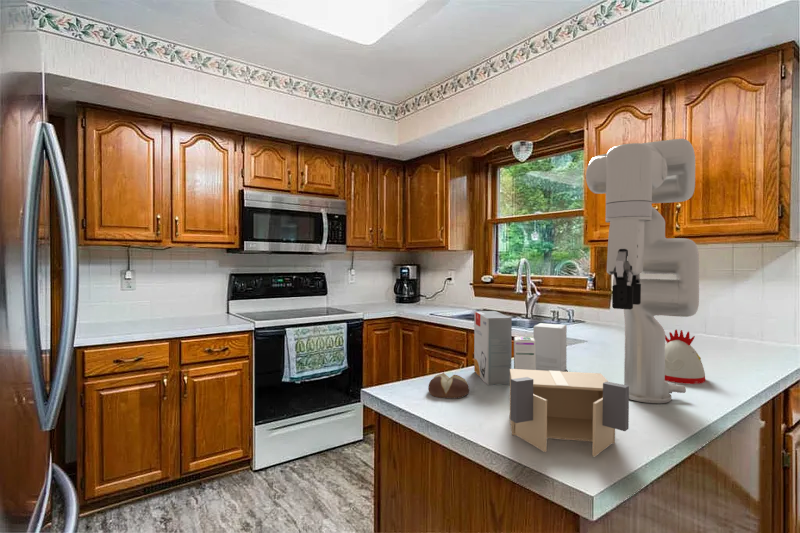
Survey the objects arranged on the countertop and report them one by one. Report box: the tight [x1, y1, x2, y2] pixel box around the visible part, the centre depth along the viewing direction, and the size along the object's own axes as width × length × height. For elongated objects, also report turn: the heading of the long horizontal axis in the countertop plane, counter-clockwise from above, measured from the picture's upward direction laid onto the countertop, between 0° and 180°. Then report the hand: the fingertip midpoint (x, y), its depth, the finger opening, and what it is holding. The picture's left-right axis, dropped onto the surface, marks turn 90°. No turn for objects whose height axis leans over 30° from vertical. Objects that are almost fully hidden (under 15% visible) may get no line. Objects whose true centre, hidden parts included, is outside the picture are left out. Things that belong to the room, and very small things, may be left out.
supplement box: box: [532, 322, 568, 372], centre depth 145 cm, size 9×9×15 cm
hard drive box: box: [473, 310, 513, 386], centre depth 135 cm, size 16×8×20 cm, turn 5°
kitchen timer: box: [665, 329, 706, 385], centre depth 137 cm, size 14×14×15 cm
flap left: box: [509, 377, 548, 453], centre depth 86 cm, size 9×4×13 cm, turn 22°
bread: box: [427, 372, 470, 399], centre depth 121 cm, size 11×11×5 cm
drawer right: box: [592, 381, 630, 457], centre depth 82 cm, size 9×4×13 cm, turn 134°
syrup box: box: [513, 336, 536, 370], centre depth 124 cm, size 6×6×14 cm
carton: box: [509, 368, 616, 444], centre depth 95 cm, size 20×12×11 cm, turn 78°
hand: (627, 306), depth 81 cm, fingers open, 9 cm apart
